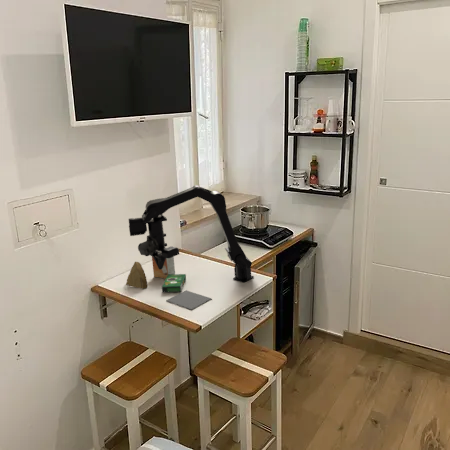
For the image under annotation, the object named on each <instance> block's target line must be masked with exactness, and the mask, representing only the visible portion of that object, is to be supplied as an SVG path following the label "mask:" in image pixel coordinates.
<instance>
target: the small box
mask: <svg viewBox="0 0 450 450" xmlns="http://www.w3.org/2000/svg"><path fill="white" fill-rule="evenodd" d="M151 260H152V261H151V262H152V269H153V270H152V272H153V277H154V278H161V279H164V280H166V278H167V276H168V274H176V270H175V256H174V257H171V258H166V260H165V262H164V265H163V268H162V269H161V270H160V269H159V268H158V266H157V264H156V262H155V260H154V258H153V257H152V256H151Z"/></svg>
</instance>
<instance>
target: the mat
mask: <svg viewBox="0 0 450 450" xmlns="http://www.w3.org/2000/svg"><path fill="white" fill-rule="evenodd" d="M211 300H212V297H209V296H205V295H202V294H199V293H196V292H193V291H189V290H187V289H186V290H184V291H181V292H179V293H177V294H176V295H174V296H172V297H170V298H168V299H166V303H167V302H168V303H171V304H173V305H176V306H179V307H182V308H184V309H187V310H189V311H190V310H191V311H193V310H194V309H196V308H198V307H200V306H201V305H203V304H205V303H207V302H209V301H211Z"/></svg>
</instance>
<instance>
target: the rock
mask: <svg viewBox="0 0 450 450" xmlns="http://www.w3.org/2000/svg"><path fill="white" fill-rule="evenodd" d="M147 280H148V279H147V275H146V274H145V270H144V268H143V266H142V264H141V262H139V261H134V263H133V265H132V267H131V268H130V272H129V274H128V276H127V279H126V283H125V285H128V286H129V287H132V288H137V289H141V290H142V289H143V290H144V289H147V288H148V281H147Z"/></svg>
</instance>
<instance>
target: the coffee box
mask: <svg viewBox="0 0 450 450" xmlns="http://www.w3.org/2000/svg"><path fill="white" fill-rule="evenodd" d="M186 280H187V274H186V273H180V274H179V273H175V274H168V276H167V278H166V279H164V281H163V284H162V286H161V291H162V293H182V290H183V288H184V285H185V283H186Z"/></svg>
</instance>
